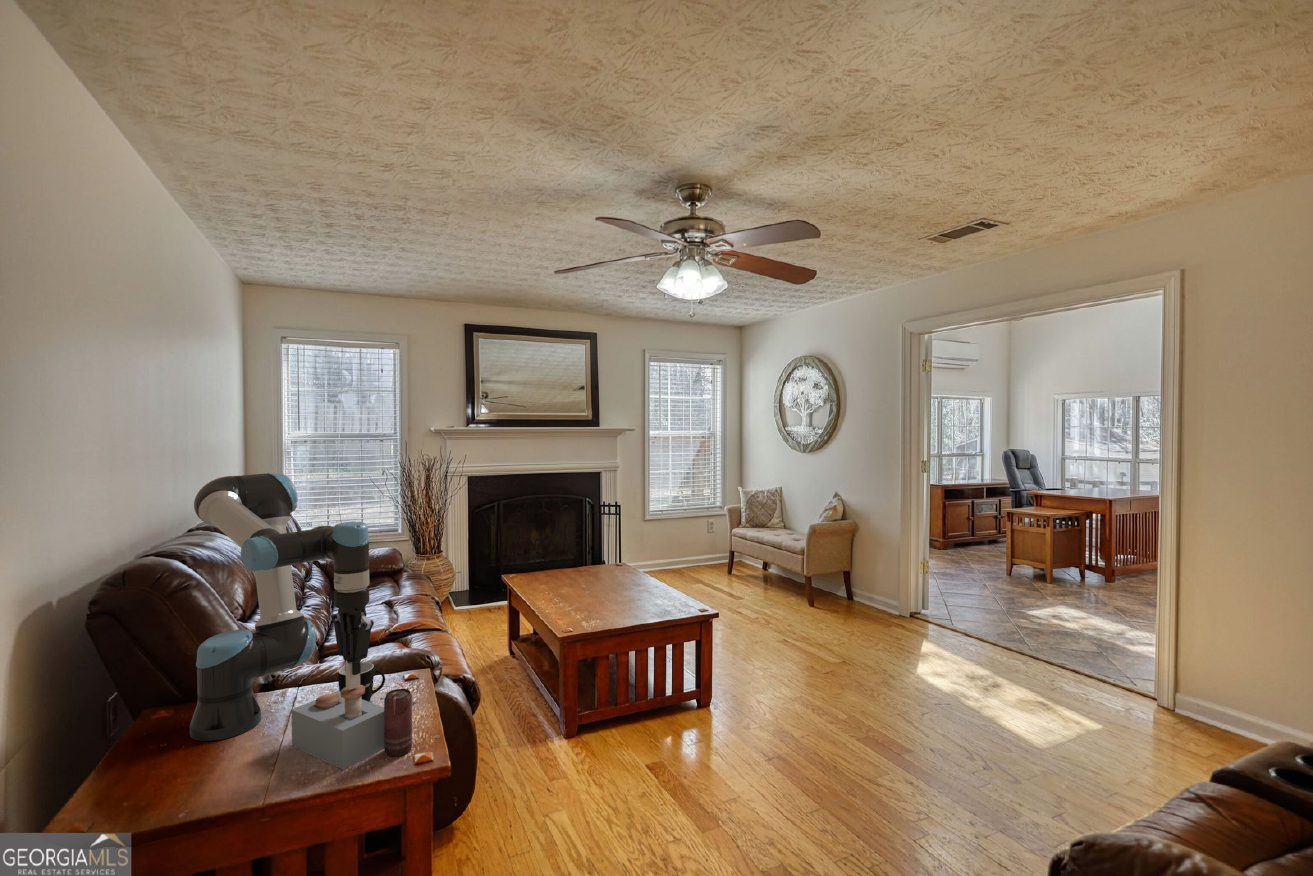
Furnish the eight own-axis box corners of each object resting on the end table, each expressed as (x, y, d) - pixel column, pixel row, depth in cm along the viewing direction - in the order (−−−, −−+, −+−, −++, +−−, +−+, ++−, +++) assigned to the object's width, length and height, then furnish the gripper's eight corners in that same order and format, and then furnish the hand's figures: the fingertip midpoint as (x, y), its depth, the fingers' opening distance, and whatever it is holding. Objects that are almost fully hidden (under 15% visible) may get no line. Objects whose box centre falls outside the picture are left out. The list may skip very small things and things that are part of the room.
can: (382, 760, 145) (382, 700, 144) (386, 746, 151) (386, 689, 151) (410, 756, 147) (410, 697, 146) (413, 742, 153) (412, 686, 152)
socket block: (292, 746, 151) (291, 709, 151) (338, 725, 161) (338, 690, 161) (343, 769, 141) (342, 730, 141) (389, 745, 151) (388, 709, 151)
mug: (341, 715, 167) (341, 677, 166) (335, 702, 174) (335, 666, 174) (389, 703, 174) (389, 667, 174) (381, 691, 181) (381, 657, 181)
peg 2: (336, 732, 148) (335, 691, 147) (356, 722, 152) (356, 683, 152) (350, 737, 145) (349, 696, 145) (370, 728, 149) (369, 687, 149)
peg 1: (311, 739, 153) (311, 700, 152) (331, 730, 157) (331, 692, 157) (324, 745, 150) (323, 705, 150) (344, 735, 155) (344, 696, 154)
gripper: (319, 588, 147) (321, 687, 148) (354, 596, 141) (355, 699, 142) (349, 581, 154) (350, 675, 155) (383, 588, 147) (384, 687, 148)
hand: (353, 686), depth 148 cm, fingers closed
